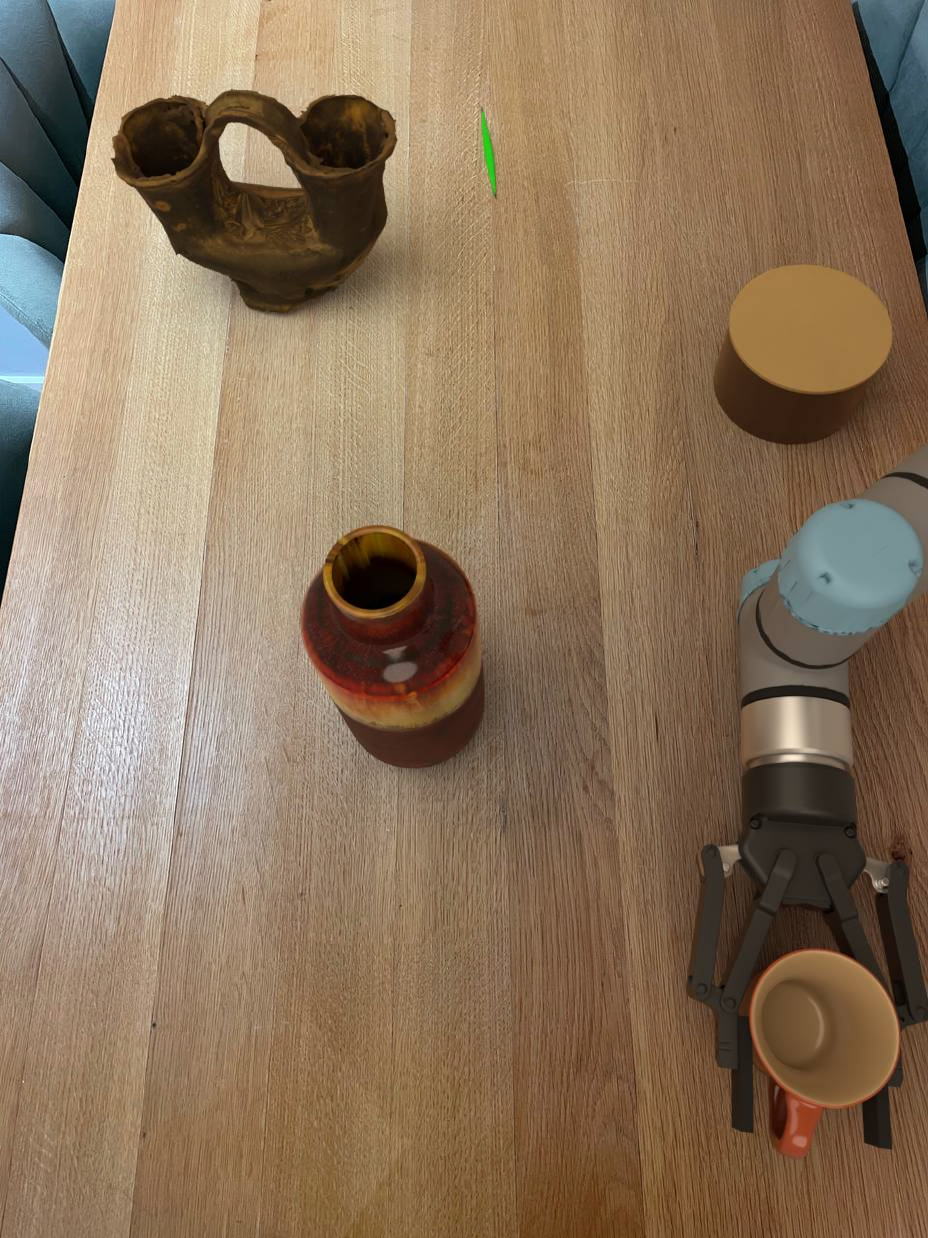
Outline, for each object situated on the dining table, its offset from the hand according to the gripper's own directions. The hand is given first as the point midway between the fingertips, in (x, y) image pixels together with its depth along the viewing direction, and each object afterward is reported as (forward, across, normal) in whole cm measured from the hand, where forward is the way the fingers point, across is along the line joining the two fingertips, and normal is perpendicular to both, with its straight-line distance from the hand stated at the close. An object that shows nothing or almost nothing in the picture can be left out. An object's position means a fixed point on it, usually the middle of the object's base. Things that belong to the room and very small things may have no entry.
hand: (809, 1137), depth 58 cm
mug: (-5, 0, -6) cm, 8 cm away
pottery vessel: (-71, +46, -6) cm, 85 cm away
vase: (-27, +28, -6) cm, 39 cm away
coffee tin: (-61, -2, -6) cm, 61 cm away
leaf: (-89, +28, -7) cm, 94 cm away
